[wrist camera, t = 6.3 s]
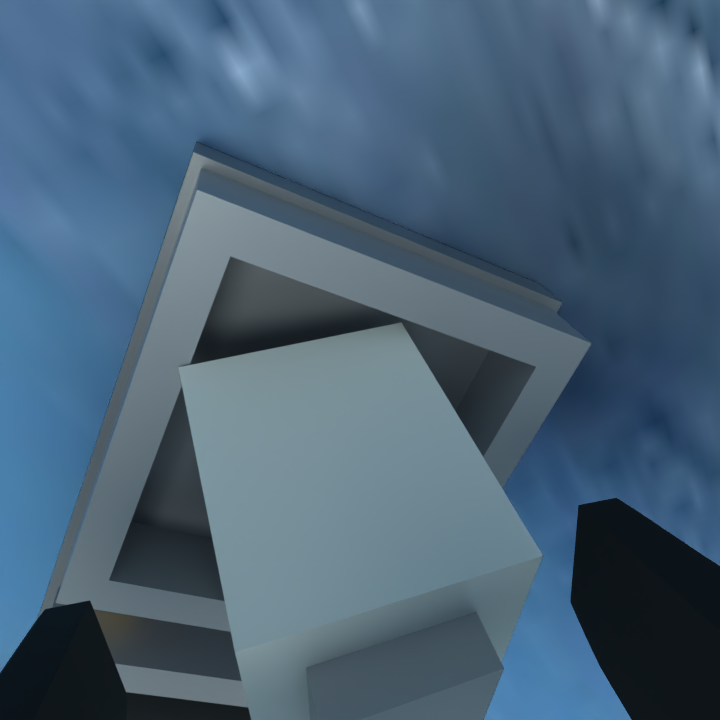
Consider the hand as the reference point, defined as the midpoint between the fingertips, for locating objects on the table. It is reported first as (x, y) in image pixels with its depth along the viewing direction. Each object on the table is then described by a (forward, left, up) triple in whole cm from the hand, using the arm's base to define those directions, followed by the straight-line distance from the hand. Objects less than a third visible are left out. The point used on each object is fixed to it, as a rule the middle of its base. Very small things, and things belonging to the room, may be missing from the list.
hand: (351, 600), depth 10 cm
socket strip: (0, +5, -6) cm, 8 cm away
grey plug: (0, 0, -4) cm, 4 cm away
